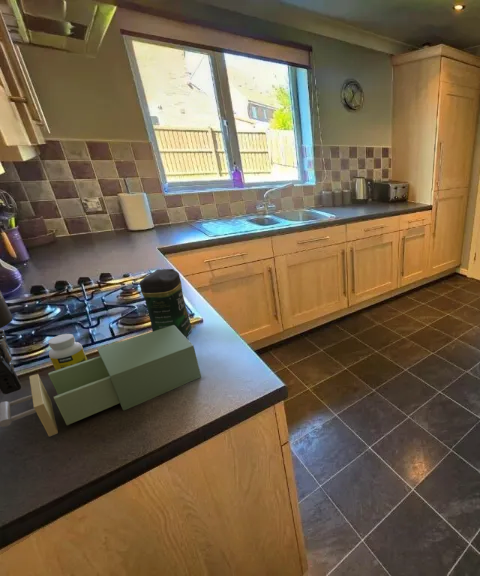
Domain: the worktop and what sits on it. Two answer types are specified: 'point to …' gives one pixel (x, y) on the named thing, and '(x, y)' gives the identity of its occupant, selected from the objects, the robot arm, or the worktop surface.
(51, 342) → the supplement bottle
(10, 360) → the robot arm
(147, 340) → the cabinet
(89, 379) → the drawer
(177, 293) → the coffee jar
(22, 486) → the worktop surface
